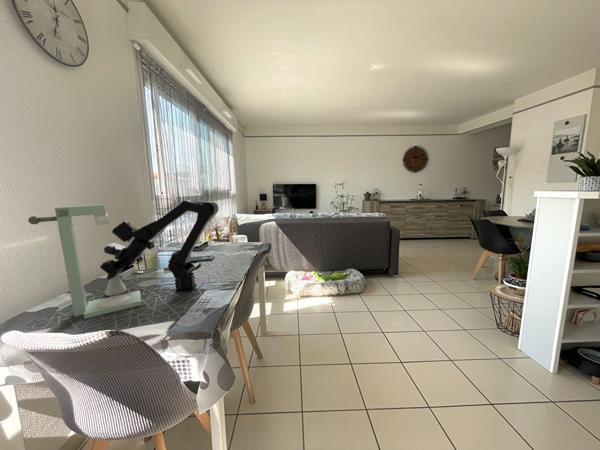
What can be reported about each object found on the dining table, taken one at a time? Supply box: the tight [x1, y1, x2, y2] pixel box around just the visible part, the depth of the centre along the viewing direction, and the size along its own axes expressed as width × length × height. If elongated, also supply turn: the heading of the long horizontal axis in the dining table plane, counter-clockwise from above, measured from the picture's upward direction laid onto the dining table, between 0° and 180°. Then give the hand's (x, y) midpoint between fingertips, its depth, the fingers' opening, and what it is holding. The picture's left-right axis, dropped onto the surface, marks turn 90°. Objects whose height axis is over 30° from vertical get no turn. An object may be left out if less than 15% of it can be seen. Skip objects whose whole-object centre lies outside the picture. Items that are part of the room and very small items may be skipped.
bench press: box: [27, 204, 142, 320], centre depth 87 cm, size 26×12×36 cm, turn 124°
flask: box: [104, 274, 128, 297], centre depth 104 cm, size 7×7×10 cm
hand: (110, 277), depth 103 cm, fingers closed on flask, 3 cm apart
